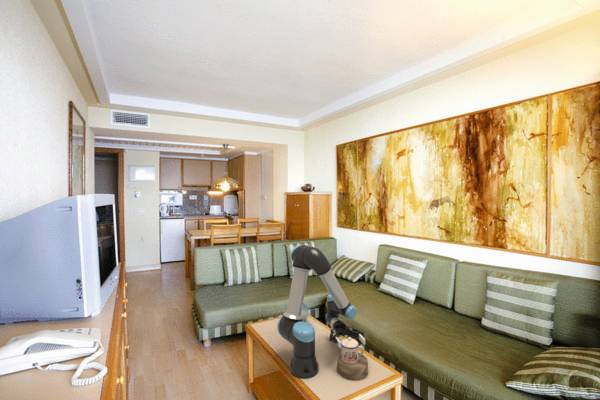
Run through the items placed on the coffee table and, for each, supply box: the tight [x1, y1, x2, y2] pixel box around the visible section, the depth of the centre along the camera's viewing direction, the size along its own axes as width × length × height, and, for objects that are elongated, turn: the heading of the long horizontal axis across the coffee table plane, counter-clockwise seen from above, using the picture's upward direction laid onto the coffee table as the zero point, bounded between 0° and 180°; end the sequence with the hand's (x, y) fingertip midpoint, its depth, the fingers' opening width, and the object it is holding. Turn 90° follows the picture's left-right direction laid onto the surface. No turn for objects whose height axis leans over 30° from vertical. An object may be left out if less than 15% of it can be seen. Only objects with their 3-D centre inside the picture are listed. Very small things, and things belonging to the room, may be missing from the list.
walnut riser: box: [336, 352, 369, 381], centre depth 152 cm, size 16×16×6 cm
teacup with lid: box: [340, 336, 365, 364], centre depth 151 cm, size 12×9×12 cm
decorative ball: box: [301, 302, 309, 322], centre depth 211 cm, size 15×15×15 cm
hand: (352, 343), depth 151 cm, fingers open, 13 cm apart
